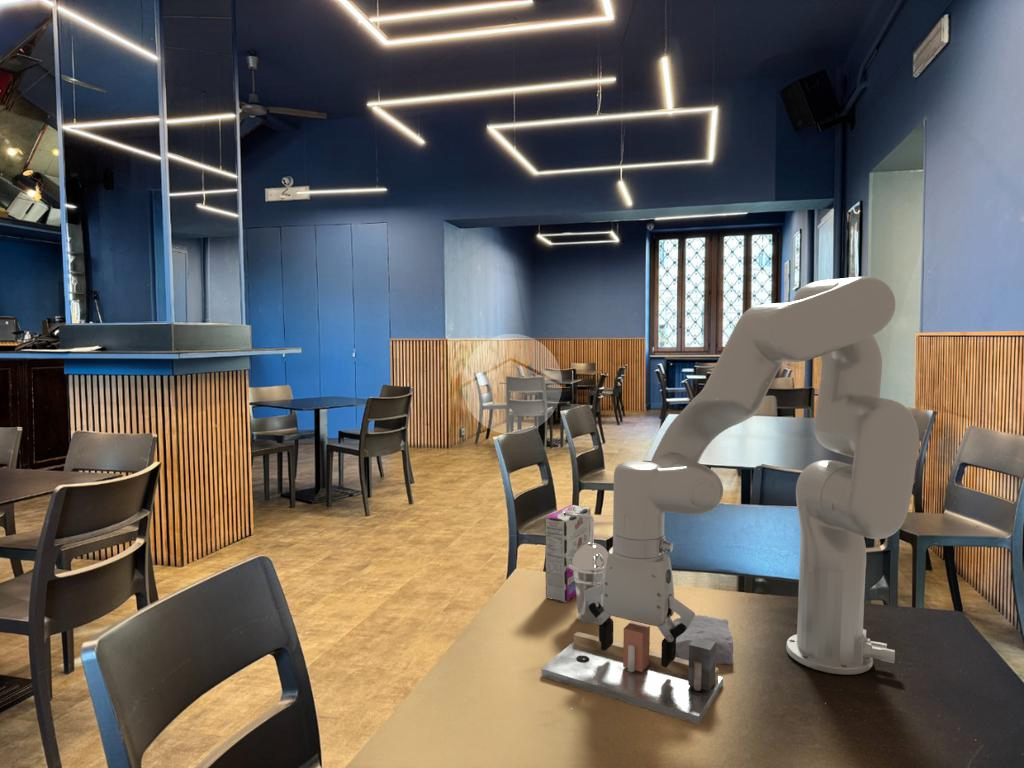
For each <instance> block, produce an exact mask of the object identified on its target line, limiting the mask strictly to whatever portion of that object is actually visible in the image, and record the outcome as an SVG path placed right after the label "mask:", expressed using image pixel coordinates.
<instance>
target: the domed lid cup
mask: <svg viewBox="0 0 1024 768" xmlns="http://www.w3.org/2000/svg"><path fill="white" fill-rule="evenodd" d="M564 516H572V517H582V518H589V519H590V543H585V544H583V545H581V546H579V547H578V548H577V549H576V551H575V552H574V554H573V557H571V558H570V559H569V563H568V567H569V568H570V569H571V570H572V574H573V579H574V581H575V591H576V596H575V598H576V608H577V609H576V611H577V613H578V617H577V618H578V619H579V620H580V622H583V623H588V624H598V623H597V622H596V618H595V616H594V615H593V614H592V612H591V611H590V610H589V604H588V603H587V601H586V599H585V596H584V592H585V591H586V590H587V589H589V588H592V587H595V586H598V585H601V584H603V583H604V574H605V568H606V563H607V558H608V554H609V551H608V550H607V549H606V548H605V547H604V546H602V544H599V543H597V542H595V541H594V540H595V536H594V535H595V518H594V517H593V515H592V514H591V513H590V514H581V513H571V512H564ZM596 598H597V601H598V602H599V603H600V604H601V606H602V607H603V594H600V595H597V596H596Z"/></svg>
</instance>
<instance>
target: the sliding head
mask: <svg viewBox="0 0 1024 768" xmlns="http://www.w3.org/2000/svg"><path fill="white" fill-rule="evenodd" d="M650 634H651V625H647V624H643V623H639V622H635V621H631V620H630V622H629V623H628V624H626V626H625V627H623V667H625V668H628V671H629V672H634V671H635V670H636V671H640V672H643V670H644V669H645V668H646V667H647V666H648V665H649V650H650V646H651V645H650V643H651V639H650V638H651V636H650Z"/></svg>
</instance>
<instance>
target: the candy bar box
mask: <svg viewBox="0 0 1024 768" xmlns="http://www.w3.org/2000/svg"><path fill="white" fill-rule="evenodd" d="M564 512H571V513H581V514H590V515H591V507H589V506H581V505H576V504H569V505H567V506H566V507H564V508H561V509H559V510H557V511H556V512H554V513H551V514H549V515H548V516H545V517H544V540H545V541H544V542H545V543H544V546H545V547H544V549H545V553H544V554H545V561H544V562H545V598H546V597H549V598H552V599H555V600H558V601H557V602H560V601H562V602H561V603H564V604H567V603H569V602H570V601H571V600H572V599H574V598H575V597H576V591H575V581H574V579H573V574H572V570H571V569H570V568H569V567H568V563H569V559H570V558H571V557H573V554H574V552H575V551H576V549H577V548H578V547H579V546H581V545H583V544H585V543H590V519H589V518H582V517H572V516H564ZM574 596H575V597H574ZM573 597H574V598H573ZM570 599H571V600H570ZM555 600H554V601H555ZM569 600H570V601H569Z"/></svg>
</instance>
